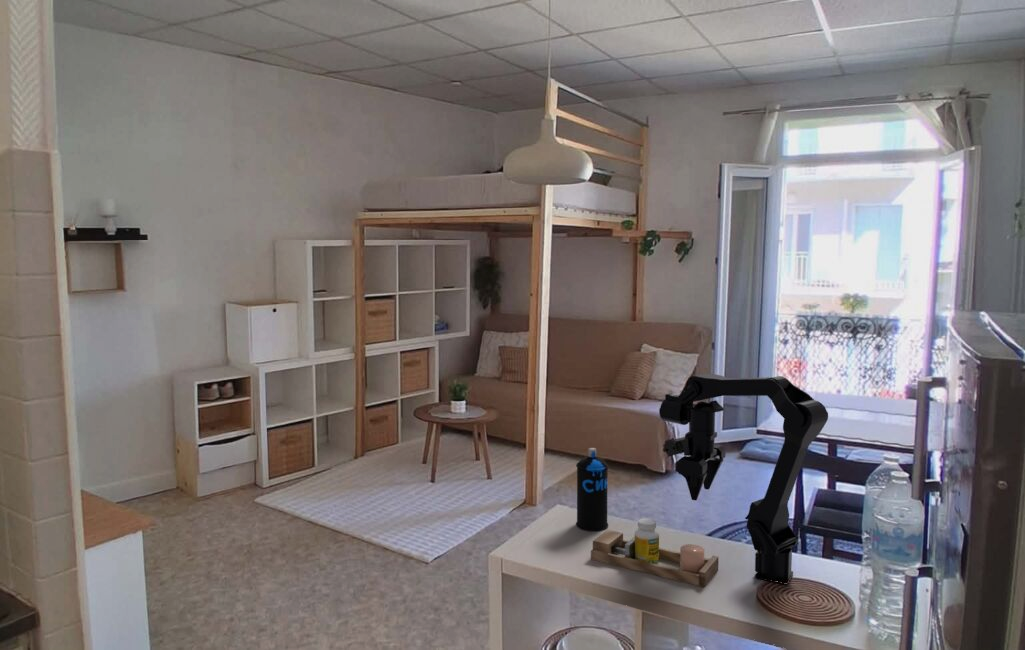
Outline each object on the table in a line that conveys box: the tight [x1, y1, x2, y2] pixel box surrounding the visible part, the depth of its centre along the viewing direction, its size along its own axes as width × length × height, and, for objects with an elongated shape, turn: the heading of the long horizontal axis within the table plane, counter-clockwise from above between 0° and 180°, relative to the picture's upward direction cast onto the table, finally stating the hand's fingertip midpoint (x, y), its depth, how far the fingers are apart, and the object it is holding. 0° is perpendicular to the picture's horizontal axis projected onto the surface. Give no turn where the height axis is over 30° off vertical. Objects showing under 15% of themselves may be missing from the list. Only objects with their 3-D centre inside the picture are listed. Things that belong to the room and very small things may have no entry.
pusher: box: [611, 536, 635, 559], centre depth 158 cm, size 7×7×4 cm
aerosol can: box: [575, 447, 610, 532], centre depth 177 cm, size 8×8×20 cm
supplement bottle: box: [634, 517, 660, 565], centre depth 154 cm, size 5×5×10 cm
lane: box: [590, 529, 719, 588], centre depth 154 cm, size 26×10×4 cm, turn 57°
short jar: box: [679, 544, 705, 574], centre depth 149 cm, size 5×5×6 cm
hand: (700, 494), depth 161 cm, fingers open, 9 cm apart
